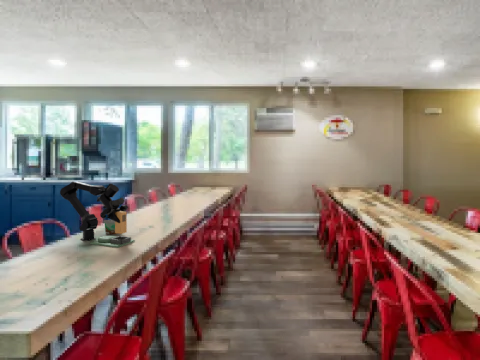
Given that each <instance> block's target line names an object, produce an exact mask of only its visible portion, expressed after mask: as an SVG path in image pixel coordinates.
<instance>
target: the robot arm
mask: <svg viewBox="0 0 480 360" xmlns="http://www.w3.org/2000/svg"><path fill="white" fill-rule="evenodd" d="M78 190H82V191H86V192H88V193H90V194H91V195H93V196H96V198H97V199H96V202H97V203H98V202H100V203H101V204H102V205H103V207H102V208H103V210H102V211H101V212H100V214H99V216H100V218H101V219H105V218H106V219H108V220H113V221H115V222H117V223H120V220H119V219H118V217H117V216H116V212H119V211H123V212H127V210H128V209H129V206H128V205H127V204H126V205H125V199H124V198H123V197H120V198H117V199H115V200H113V199H112V198H114V196H115V195H117V194H118V192H119V191H120V188H119V187H118V186H117V185H115V184H113V183H109V184H108V186H104V185H92V184H88V183H84V182H82V181H77V180H76V181H72V182H70V183H69V184H67V185H65V186H64V187H62V188H60V190H59V195H60V196H61V197H62V198H63V199H65V200H67V201H68V202H69V203H70V204H71V205H72V207H73V209H74V210H75V211H76V213H77V214H78V215H79V216H80V218H81V223H82V224H81V225H80V226H79V231H80V232H82V238H80V240H81V241H86V242H89V241H90V242H91V241H93V240H96V239H97V238H96V237H95V230H97V227H98V224H99V220H98V217H97V216H96V215H95V214H94V213H92V214H91V213H89V212H88V210H87V209H86V208H85V206H84V205H83V204H82V202H81V201H80V199H79V198H78V197H77V195H78V194H77V191H78ZM123 204H124V205H123ZM120 205H121V206H120Z"/></svg>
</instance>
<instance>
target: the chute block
mask: <svg viewBox="0 0 480 360" xmlns="http://www.w3.org/2000/svg"><path fill="white" fill-rule="evenodd" d="M127 213H128V212H127V211H125V212H123V211H119V212H116V216H117V217H118V219H119V220H120V223H117V222H115V233H119V234H121V235H123V234H125V233H127V231H128V229H127V227H128V225H127V224H128V223H127V220H128V219H127Z"/></svg>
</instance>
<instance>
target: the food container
mask: <svg viewBox="0 0 480 360" xmlns="http://www.w3.org/2000/svg"><path fill="white" fill-rule="evenodd" d="M103 224H104V231H105V232H104V233H105V235H106V236H115V235H118V234H119V233H115V221H113V220H111V219H104V220H103Z"/></svg>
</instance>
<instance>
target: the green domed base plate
mask: <svg viewBox="0 0 480 360" xmlns="http://www.w3.org/2000/svg"><path fill="white" fill-rule="evenodd" d="M134 242H135V239H132V237H131V236H124V235H119V236H116V235H105V236H104V235H103V236H100V237H98V238H97V240H96V239H95V240H94V241H93V240H92V241H90V243H89V244H90V245H95V246H102V247H103V246H104V247H110V248H120V247H121V248H122V247H123V246H126V245H129V244H132V243H134Z"/></svg>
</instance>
